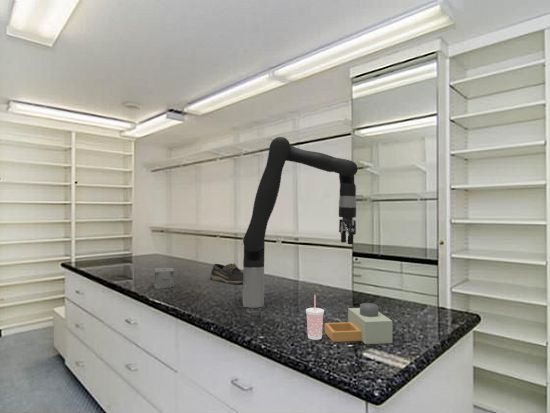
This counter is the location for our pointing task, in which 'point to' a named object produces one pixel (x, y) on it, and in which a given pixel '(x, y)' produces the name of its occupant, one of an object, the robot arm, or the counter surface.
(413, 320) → the counter surface
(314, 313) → the beverage cup
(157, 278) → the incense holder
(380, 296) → the counter surface
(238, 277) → the boat shoe
